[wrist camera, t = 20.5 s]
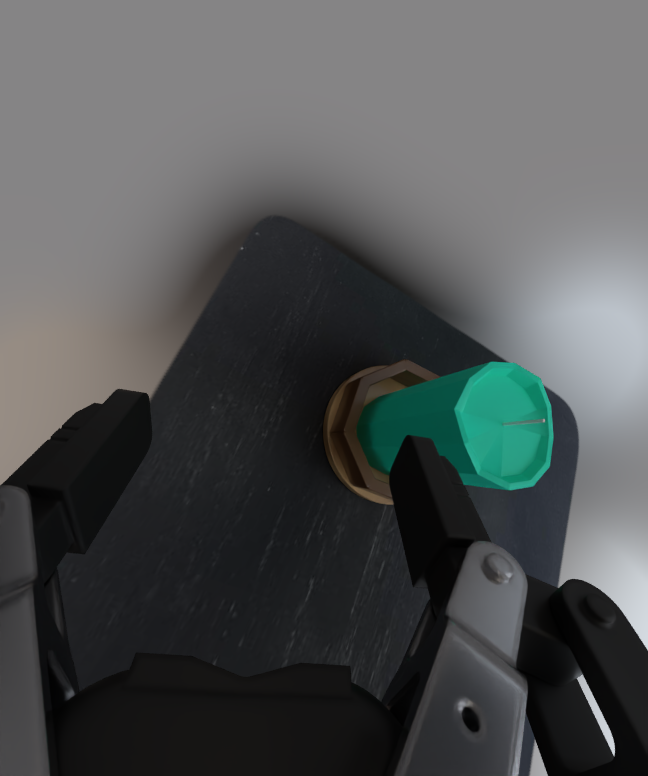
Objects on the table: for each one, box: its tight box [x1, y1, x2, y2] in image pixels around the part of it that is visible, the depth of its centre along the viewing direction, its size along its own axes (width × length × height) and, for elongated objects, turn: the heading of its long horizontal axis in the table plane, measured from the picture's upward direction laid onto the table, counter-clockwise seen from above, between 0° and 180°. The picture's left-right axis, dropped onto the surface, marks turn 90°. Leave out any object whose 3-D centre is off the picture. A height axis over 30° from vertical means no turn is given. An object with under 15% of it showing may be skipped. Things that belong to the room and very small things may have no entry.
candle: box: [356, 362, 553, 490], centre depth 19 cm, size 6×6×12 cm
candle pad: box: [323, 359, 440, 504], centre depth 24 cm, size 10×10×4 cm
